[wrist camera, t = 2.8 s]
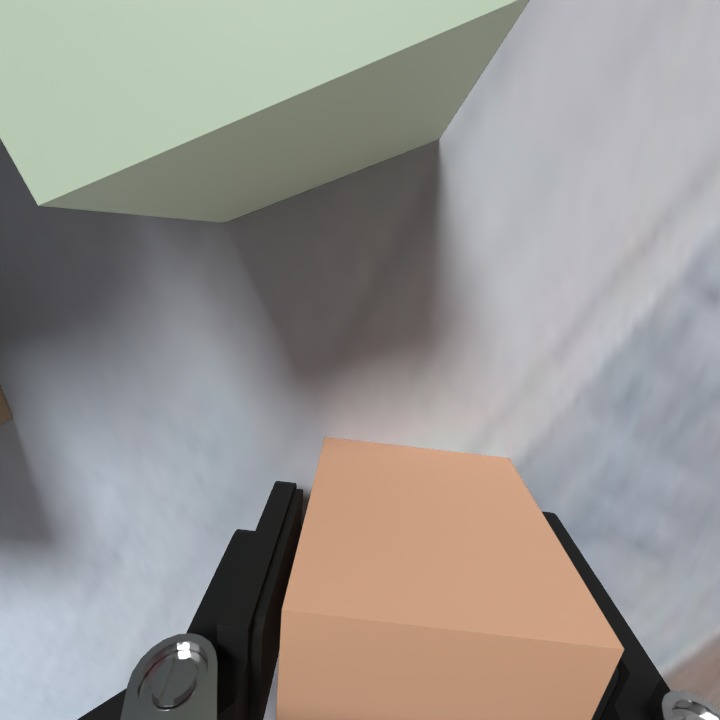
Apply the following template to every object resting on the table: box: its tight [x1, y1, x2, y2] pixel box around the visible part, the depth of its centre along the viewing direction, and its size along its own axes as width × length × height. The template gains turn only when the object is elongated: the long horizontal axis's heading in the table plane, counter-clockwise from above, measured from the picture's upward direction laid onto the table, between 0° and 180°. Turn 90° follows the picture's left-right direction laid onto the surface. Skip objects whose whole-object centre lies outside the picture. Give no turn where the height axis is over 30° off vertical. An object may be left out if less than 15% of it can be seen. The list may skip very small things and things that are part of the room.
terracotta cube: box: [276, 437, 624, 720], centre depth 9 cm, size 5×5×5 cm
